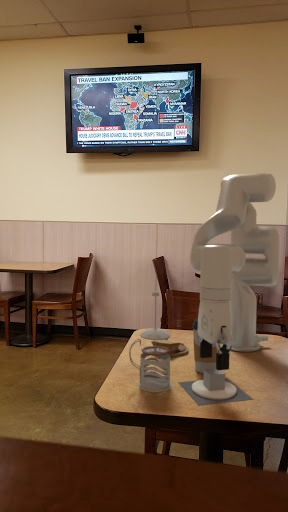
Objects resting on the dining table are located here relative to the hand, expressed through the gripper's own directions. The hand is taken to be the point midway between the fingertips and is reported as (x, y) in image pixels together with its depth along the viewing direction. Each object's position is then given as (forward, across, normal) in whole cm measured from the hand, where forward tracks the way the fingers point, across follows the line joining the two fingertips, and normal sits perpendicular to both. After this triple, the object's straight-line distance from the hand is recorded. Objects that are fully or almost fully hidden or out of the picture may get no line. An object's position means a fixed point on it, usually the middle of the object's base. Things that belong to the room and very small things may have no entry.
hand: (213, 363), depth 95 cm
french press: (+8, -8, -14) cm, 18 cm away
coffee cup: (+7, -15, +4) cm, 17 cm away
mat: (+8, -1, 0) cm, 8 cm away
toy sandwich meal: (+7, -35, 0) cm, 36 cm away
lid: (+7, -1, 0) cm, 7 cm away
